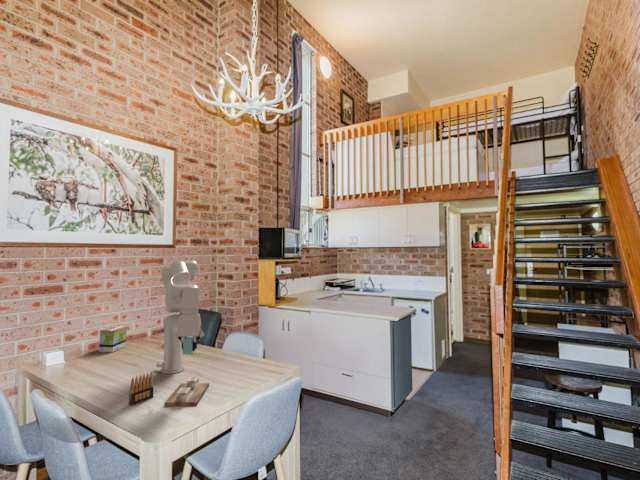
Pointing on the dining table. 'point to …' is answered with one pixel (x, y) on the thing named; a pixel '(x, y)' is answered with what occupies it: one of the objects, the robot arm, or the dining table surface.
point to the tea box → (112, 338)
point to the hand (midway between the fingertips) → (189, 349)
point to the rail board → (192, 399)
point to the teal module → (188, 345)
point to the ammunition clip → (141, 389)
